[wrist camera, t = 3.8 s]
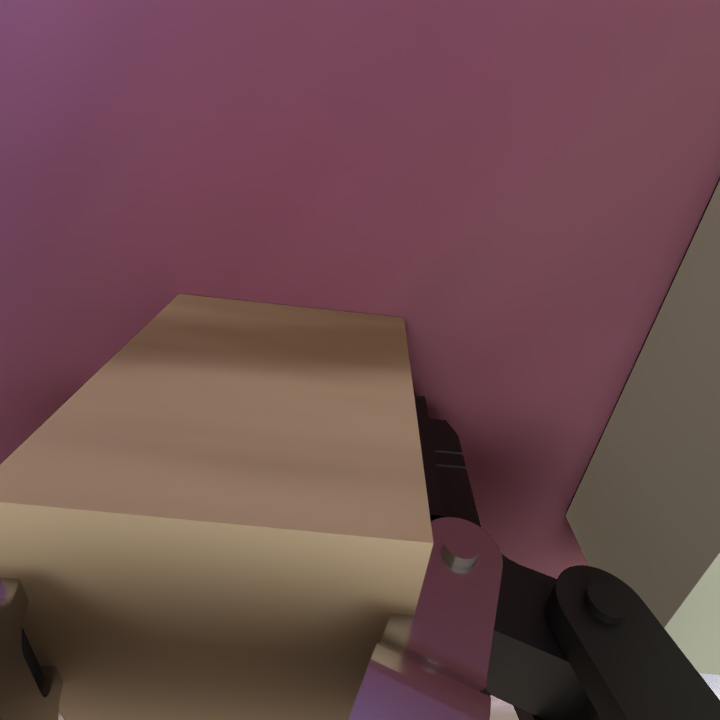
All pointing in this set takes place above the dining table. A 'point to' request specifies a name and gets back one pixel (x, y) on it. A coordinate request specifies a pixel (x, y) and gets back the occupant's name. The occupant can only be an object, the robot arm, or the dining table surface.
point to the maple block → (223, 516)
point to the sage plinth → (667, 463)
